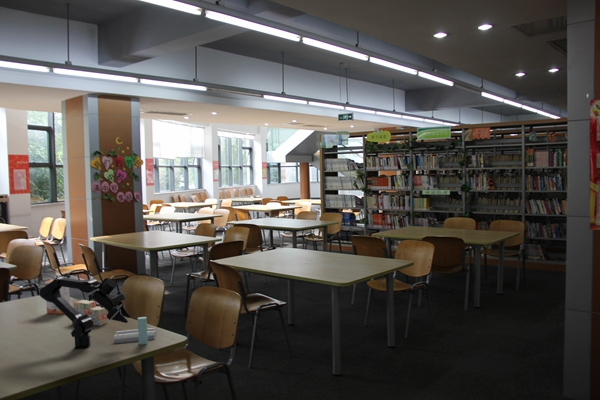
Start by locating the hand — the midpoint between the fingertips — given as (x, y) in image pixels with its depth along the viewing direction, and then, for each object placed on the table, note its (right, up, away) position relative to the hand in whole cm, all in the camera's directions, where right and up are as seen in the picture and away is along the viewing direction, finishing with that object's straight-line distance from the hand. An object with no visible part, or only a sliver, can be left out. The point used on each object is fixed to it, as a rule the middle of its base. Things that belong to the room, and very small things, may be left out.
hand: (128, 319), depth 247 cm
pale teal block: (+7, -12, +2) cm, 14 cm away
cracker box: (-69, -13, +69) cm, 98 cm away
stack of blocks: (-37, -13, +44) cm, 59 cm away
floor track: (0, -12, +11) cm, 16 cm away
